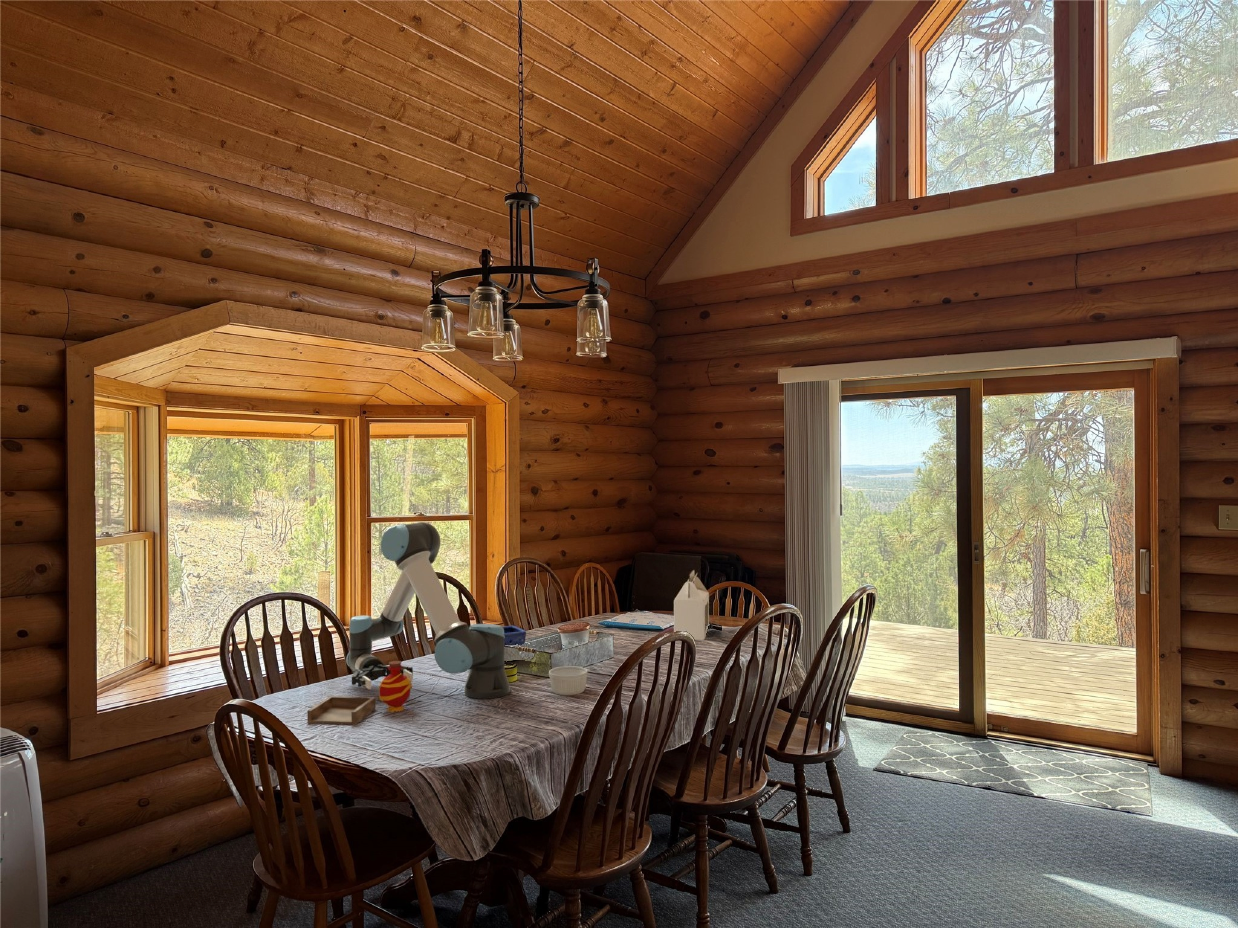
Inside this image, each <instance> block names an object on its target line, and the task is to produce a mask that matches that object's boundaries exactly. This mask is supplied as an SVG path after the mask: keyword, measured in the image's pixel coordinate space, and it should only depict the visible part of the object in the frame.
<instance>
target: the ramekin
mask: <svg viewBox="0 0 1238 928" xmlns="http://www.w3.org/2000/svg"><path fill="white" fill-rule="evenodd" d="M587 676H588V669H587V668H585V667H582V666H573V665H571V666H570V665H564V666H557V667H554V668H552V669H550V670H549V671H548V677H549V683H550V689H551V690H552V691H551V692H553V693H554V694H556V695H560V696H573V695H574V696H575V695H579V694H582V693H583V692H584V691H585V690H586V686H587V678H588V677H587Z"/></svg>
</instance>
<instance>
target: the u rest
mask: <svg viewBox="0 0 1238 928" xmlns="http://www.w3.org/2000/svg"><path fill="white" fill-rule="evenodd" d="M372 711H373V712H374V711H376V697H371V696H369V697H368V696H367V697H366V696H339V695H338V696H337V695H329V696H328V697H326V698H325V699H323V700H322V701H320V702H318V703H317V704H315V705H314V706H313V707H310V709H309V708H308V709H307V716H306V718H307V720H306V721H307V724H318V723H321V724H323V725H324V724H325V725H327V724H328V725H349V726H350V725H352V726H353V725H354V726H355V725H357V724H358V723H360V722H361V721H362V720H364V719H365V718H366V717H368V716H369V715H370V714H372V713H373V712H372ZM368 714H369V715H368ZM321 724H320V725H321Z"/></svg>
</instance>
